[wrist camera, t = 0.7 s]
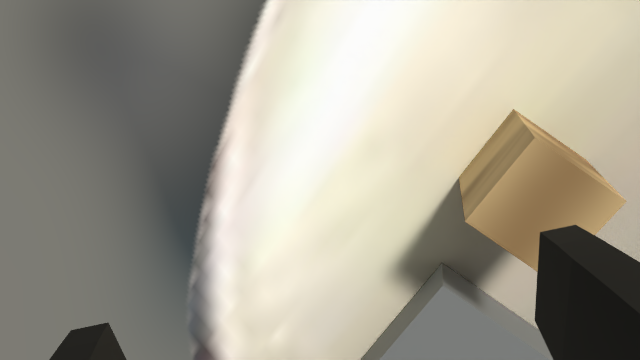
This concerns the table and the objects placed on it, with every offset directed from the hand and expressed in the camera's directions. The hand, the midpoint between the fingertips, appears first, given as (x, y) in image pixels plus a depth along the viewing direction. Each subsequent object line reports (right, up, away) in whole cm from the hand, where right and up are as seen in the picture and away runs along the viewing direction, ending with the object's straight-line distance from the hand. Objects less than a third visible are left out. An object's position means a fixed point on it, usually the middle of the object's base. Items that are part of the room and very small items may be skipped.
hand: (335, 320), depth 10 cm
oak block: (+9, +3, +17) cm, 20 cm away
